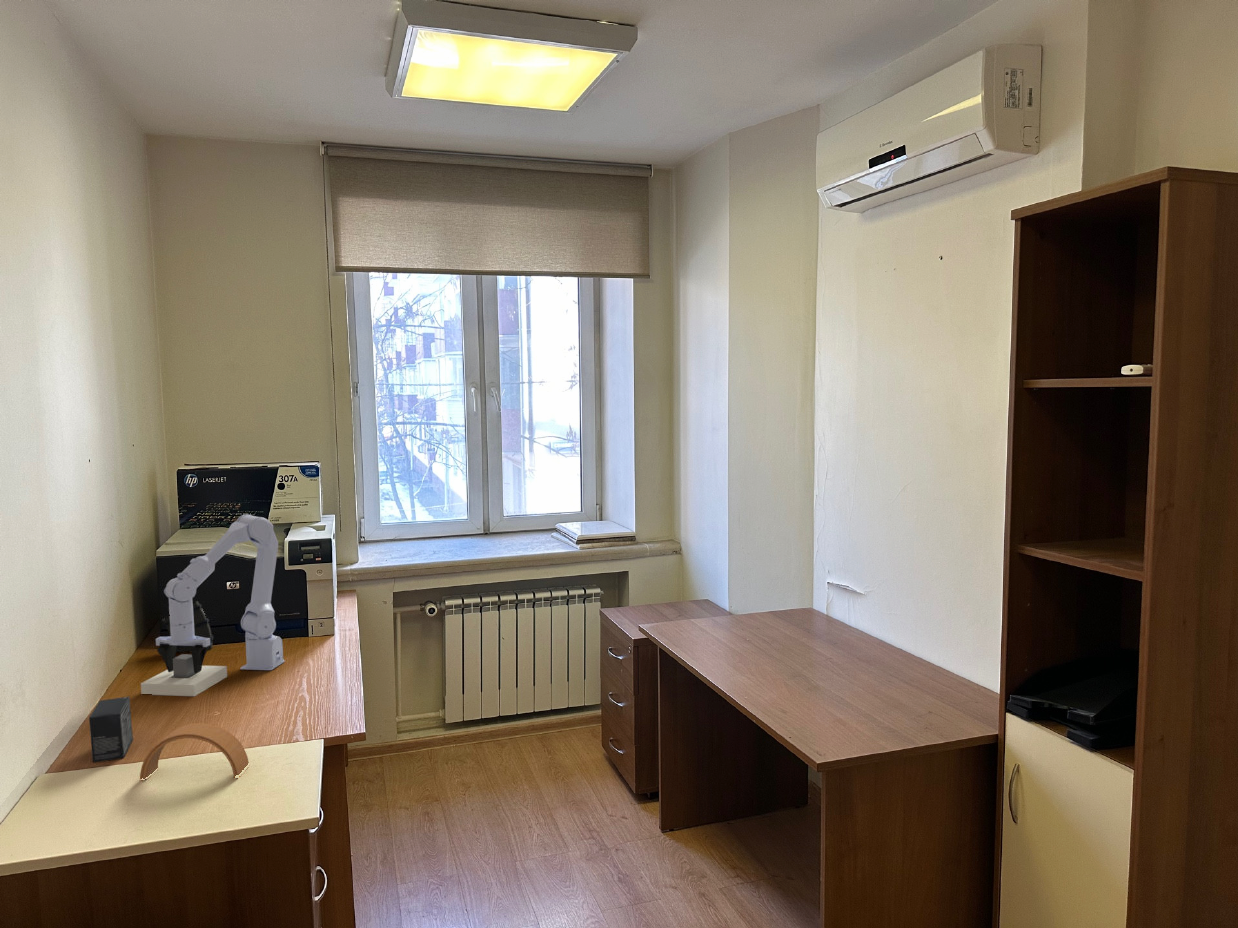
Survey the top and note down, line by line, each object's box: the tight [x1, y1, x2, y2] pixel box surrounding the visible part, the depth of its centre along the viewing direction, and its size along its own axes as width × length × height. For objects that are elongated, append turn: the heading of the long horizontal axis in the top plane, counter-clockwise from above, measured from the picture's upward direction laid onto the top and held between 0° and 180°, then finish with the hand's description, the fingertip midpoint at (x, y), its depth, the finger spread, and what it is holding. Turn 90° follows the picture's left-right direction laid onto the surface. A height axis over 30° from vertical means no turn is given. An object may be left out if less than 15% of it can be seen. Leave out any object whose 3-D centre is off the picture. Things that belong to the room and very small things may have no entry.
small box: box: [88, 696, 134, 763], centre depth 187 cm, size 11×6×10 cm, turn 21°
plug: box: [173, 653, 197, 678], centre depth 228 cm, size 4×4×8 cm
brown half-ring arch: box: [139, 722, 250, 780], centre depth 176 cm, size 6×20×10 cm, turn 92°
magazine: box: [161, 600, 214, 654], centre depth 259 cm, size 4×13×15 cm, turn 109°
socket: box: [140, 665, 228, 697], centre depth 229 cm, size 15×15×3 cm
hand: (184, 671), depth 228 cm, fingers open, 7 cm apart
